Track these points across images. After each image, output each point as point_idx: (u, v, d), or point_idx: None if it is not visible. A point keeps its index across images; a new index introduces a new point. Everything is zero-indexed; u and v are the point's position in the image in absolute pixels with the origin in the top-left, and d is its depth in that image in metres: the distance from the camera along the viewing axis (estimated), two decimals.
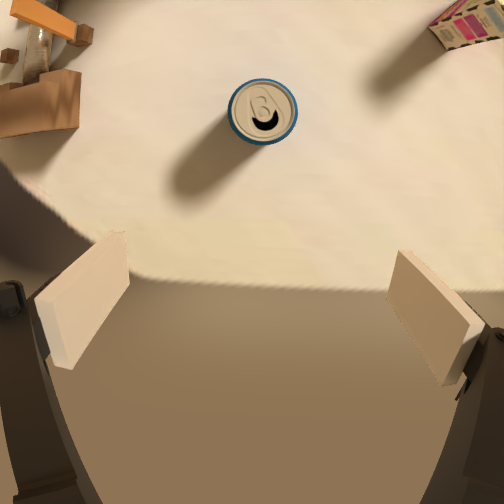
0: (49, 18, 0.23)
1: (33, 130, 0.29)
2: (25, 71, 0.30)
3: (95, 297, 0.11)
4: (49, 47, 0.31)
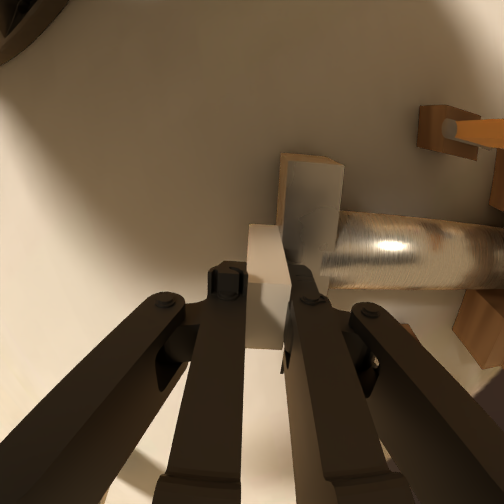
0: None
1: None
2: None
3: None
4: (466, 223, 0.16)
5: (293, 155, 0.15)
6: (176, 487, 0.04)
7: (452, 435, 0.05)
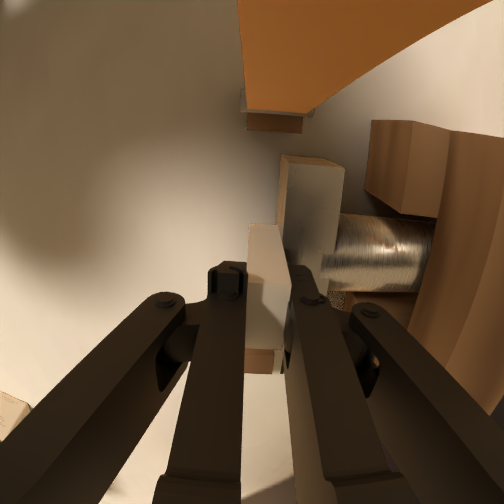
0: None
1: None
2: None
3: None
4: None
5: (294, 157, 0.15)
6: (176, 487, 0.04)
7: (452, 435, 0.05)
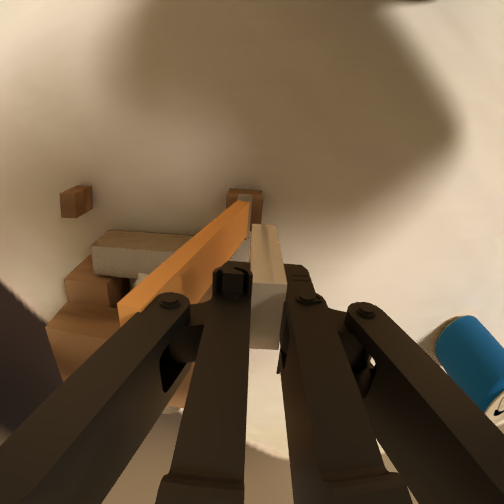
0: (215, 259, 0.15)
1: None
2: None
3: None
4: None
5: None
6: (179, 487, 0.04)
7: (449, 435, 0.05)
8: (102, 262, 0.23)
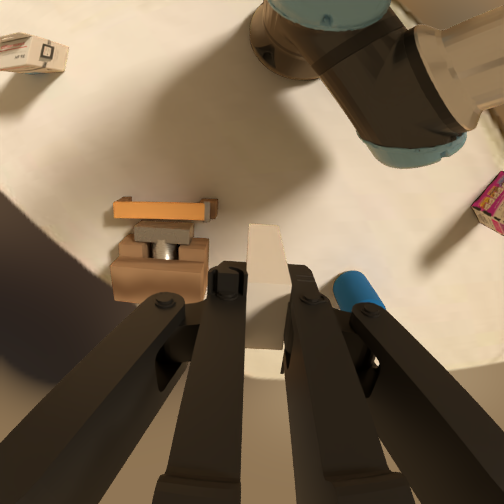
0: (156, 211, 0.47)
1: None
2: None
3: None
4: None
5: (192, 227, 0.51)
6: (176, 487, 0.04)
7: (452, 435, 0.05)
8: (139, 235, 0.49)
